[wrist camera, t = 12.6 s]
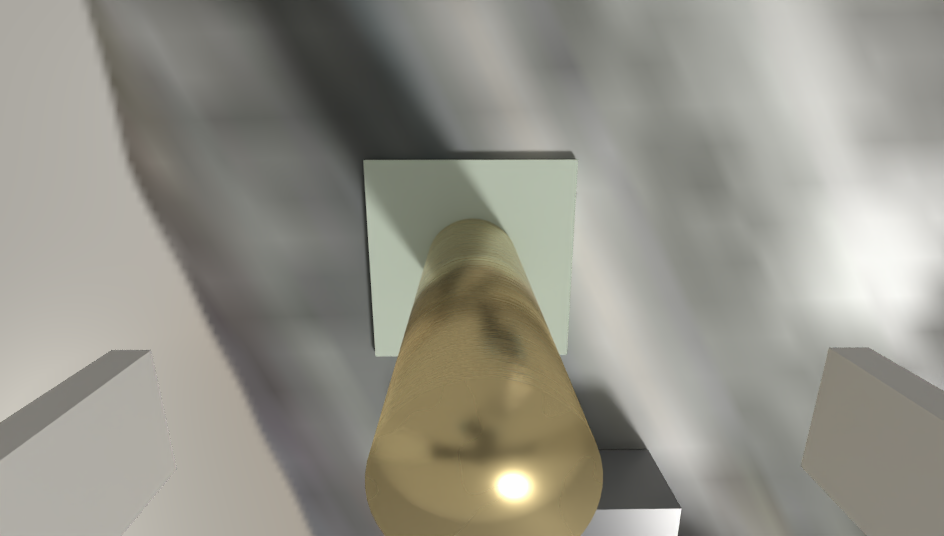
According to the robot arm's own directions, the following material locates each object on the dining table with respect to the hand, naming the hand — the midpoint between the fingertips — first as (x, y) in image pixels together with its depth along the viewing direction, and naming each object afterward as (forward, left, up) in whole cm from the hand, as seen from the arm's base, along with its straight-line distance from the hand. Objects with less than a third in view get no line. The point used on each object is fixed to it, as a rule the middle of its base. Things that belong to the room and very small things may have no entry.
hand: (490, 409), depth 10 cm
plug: (0, 0, -12) cm, 12 cm away
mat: (0, 0, -13) cm, 13 cm away
